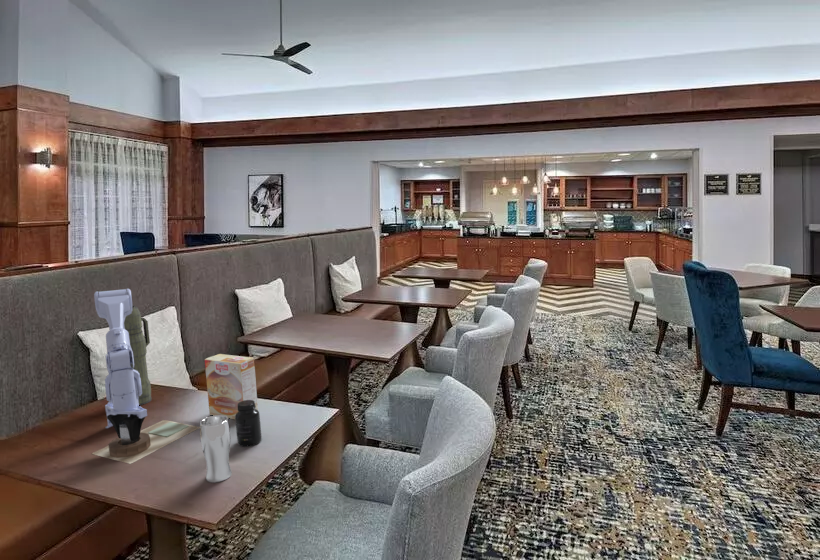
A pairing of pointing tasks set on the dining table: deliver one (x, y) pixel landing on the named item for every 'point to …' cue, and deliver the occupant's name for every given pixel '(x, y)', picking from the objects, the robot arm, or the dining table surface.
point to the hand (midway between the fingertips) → (129, 438)
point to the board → (153, 442)
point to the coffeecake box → (229, 383)
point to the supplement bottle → (248, 424)
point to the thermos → (139, 350)
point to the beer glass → (216, 447)
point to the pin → (125, 434)
